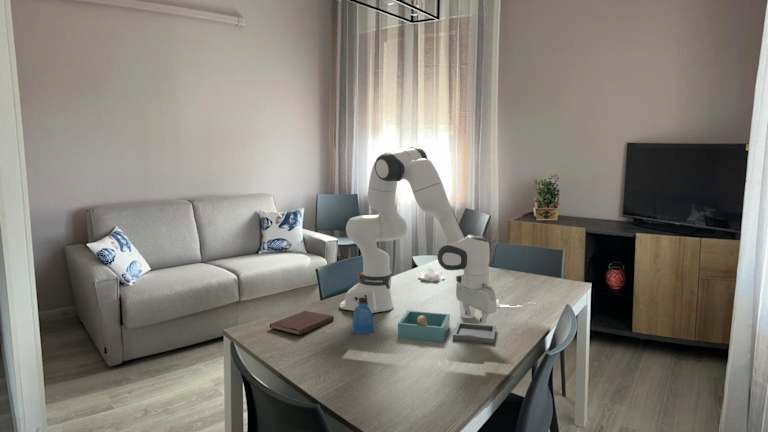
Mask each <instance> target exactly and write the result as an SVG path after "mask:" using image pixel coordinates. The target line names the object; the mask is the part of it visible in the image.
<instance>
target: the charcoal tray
mask: <svg viewBox="0 0 768 432" xmlns="http://www.w3.org/2000/svg"><path fill="white" fill-rule="evenodd" d="M496 332H497V325H492V324H491V325H490V324H482V323H470V322H457V323H456V326H455V328H454V331H453V333H452V341H456V342H466V343H473V344H474V343H475V344H485V345H495V339H496Z"/></svg>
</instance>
